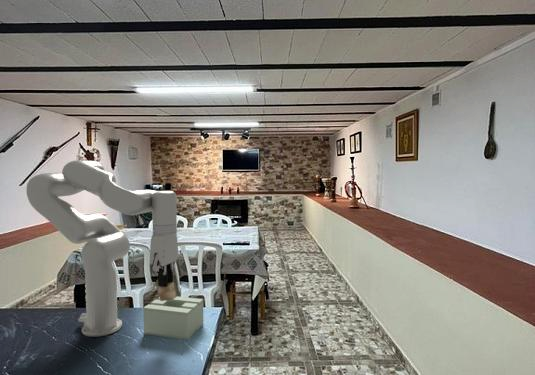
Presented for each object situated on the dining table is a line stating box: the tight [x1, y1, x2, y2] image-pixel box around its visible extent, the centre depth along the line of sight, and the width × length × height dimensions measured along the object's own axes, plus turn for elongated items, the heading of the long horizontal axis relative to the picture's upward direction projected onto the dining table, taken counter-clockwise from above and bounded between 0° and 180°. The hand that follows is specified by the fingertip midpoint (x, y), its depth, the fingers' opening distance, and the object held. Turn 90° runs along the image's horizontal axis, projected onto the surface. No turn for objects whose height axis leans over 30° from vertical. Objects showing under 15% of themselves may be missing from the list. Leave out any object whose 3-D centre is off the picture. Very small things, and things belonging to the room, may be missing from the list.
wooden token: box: [157, 281, 177, 301], centre depth 116 cm, size 4×2×5 cm, turn 74°
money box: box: [142, 295, 204, 341], centre depth 121 cm, size 16×12×9 cm
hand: (165, 284), depth 116 cm, fingers closed on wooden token, 2 cm apart
